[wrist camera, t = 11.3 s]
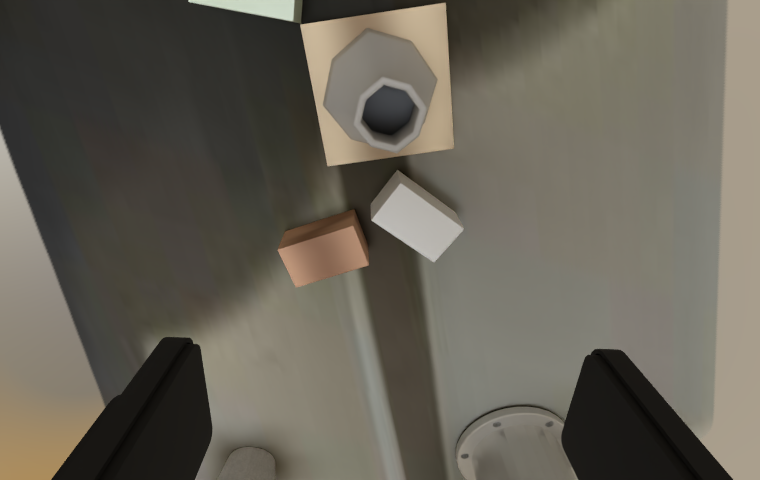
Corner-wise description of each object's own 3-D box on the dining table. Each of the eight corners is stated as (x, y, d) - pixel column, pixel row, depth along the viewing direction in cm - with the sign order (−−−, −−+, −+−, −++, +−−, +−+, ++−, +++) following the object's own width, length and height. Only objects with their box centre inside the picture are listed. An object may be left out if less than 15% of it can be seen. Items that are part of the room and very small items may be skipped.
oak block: (437, 6, 28) (445, 2, 25) (446, 139, 32) (454, 148, 29) (306, 26, 28) (300, 24, 26) (330, 156, 32) (327, 166, 30)
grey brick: (454, 211, 34) (464, 228, 31) (427, 242, 35) (433, 262, 32) (397, 169, 32) (400, 183, 29) (370, 203, 33) (371, 220, 30)
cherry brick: (354, 208, 34) (353, 225, 30) (368, 245, 35) (368, 265, 32) (285, 230, 34) (277, 249, 31) (302, 265, 36) (296, 287, 33)
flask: (362, 4, 25) (364, -16, 16) (456, 74, 27) (504, 90, 18) (304, 108, 28) (278, 141, 19) (394, 166, 30) (410, 220, 21)
